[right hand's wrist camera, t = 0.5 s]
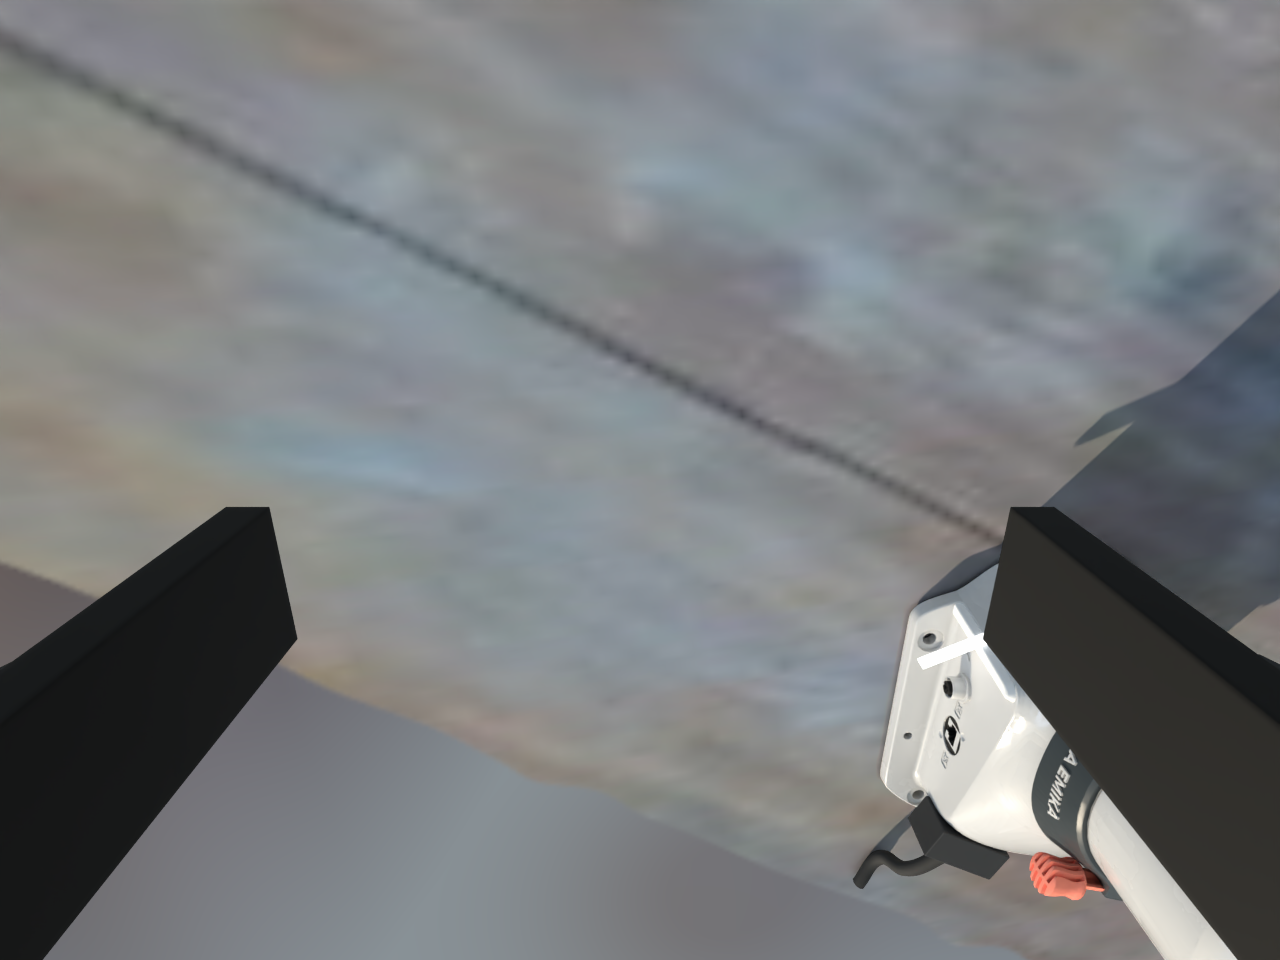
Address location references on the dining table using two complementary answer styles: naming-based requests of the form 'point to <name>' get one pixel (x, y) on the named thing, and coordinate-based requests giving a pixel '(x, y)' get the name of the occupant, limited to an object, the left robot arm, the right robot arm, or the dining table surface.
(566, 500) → the dining table surface
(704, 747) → the dining table surface
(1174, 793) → the right robot arm
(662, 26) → the dining table surface
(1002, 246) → the dining table surface
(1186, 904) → the left robot arm
